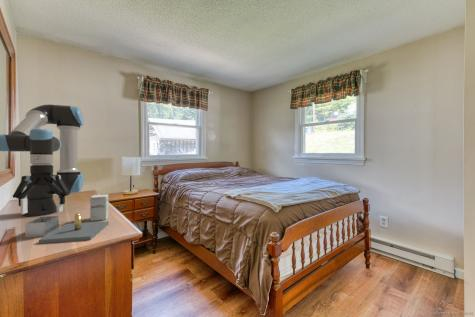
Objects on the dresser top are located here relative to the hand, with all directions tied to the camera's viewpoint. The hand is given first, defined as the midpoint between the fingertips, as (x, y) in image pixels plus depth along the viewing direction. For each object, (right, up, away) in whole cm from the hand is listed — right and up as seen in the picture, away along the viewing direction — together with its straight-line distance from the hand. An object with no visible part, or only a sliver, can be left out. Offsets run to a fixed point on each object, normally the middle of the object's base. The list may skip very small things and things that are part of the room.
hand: (42, 212), depth 96 cm
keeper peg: (+15, -8, +1) cm, 17 cm away
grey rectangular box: (0, -9, +1) cm, 9 cm away
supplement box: (+12, -9, +22) cm, 26 cm away
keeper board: (+15, -9, +1) cm, 18 cm away
